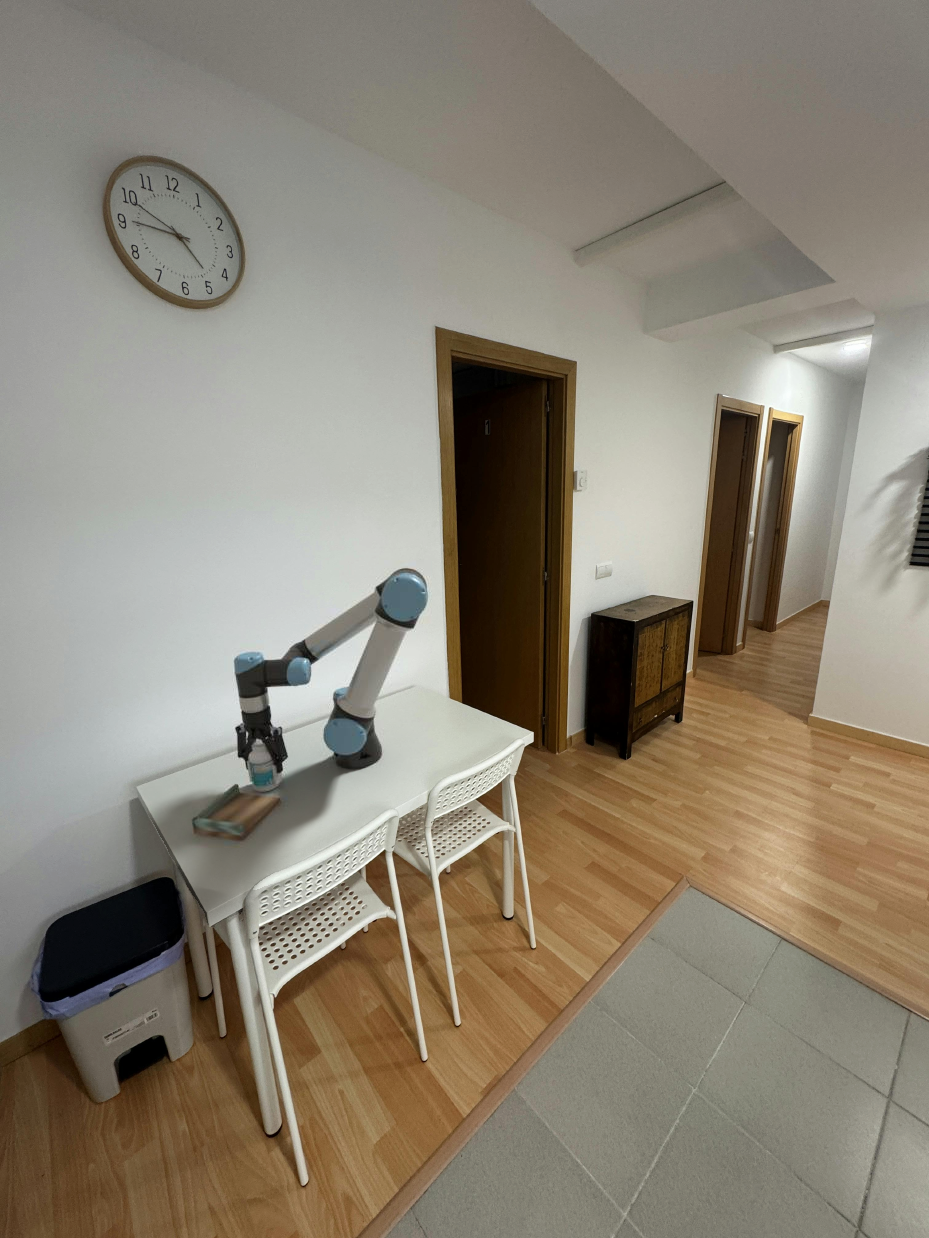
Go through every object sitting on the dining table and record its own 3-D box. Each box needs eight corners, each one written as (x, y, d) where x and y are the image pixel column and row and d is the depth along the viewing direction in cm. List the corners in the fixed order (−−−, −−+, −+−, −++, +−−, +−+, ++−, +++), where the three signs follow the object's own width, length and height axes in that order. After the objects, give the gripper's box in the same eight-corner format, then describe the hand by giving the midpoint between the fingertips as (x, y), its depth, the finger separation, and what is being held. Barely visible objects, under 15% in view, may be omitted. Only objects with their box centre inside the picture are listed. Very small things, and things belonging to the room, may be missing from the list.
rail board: (281, 802, 136) (279, 789, 135) (242, 840, 121) (239, 826, 120) (237, 796, 140) (235, 783, 139) (194, 833, 125) (191, 819, 124)
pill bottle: (258, 779, 148) (251, 738, 145) (283, 777, 149) (277, 736, 145) (249, 794, 141) (242, 750, 137) (276, 792, 141) (270, 748, 138)
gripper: (295, 704, 140) (304, 777, 145) (233, 699, 145) (244, 770, 150) (279, 715, 133) (289, 791, 138) (215, 710, 138) (227, 784, 143)
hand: (266, 780), depth 144 cm, fingers closed on pill bottle, 7 cm apart
